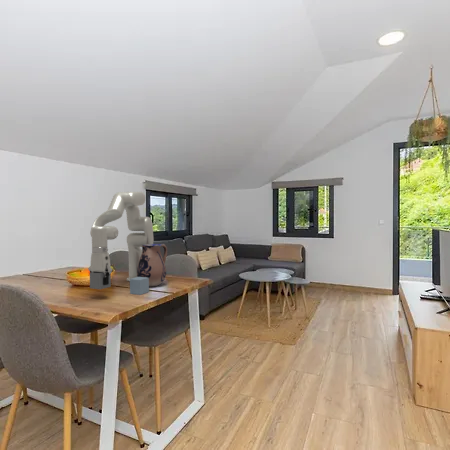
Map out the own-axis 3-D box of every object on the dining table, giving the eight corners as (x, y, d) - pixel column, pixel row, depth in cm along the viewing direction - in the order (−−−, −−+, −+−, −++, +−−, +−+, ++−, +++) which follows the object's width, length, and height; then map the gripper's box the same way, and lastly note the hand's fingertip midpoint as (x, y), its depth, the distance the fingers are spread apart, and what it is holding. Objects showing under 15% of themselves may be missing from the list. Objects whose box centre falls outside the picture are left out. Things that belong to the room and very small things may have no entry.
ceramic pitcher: (130, 286, 186) (130, 245, 186) (154, 280, 205) (153, 242, 204) (153, 289, 178) (152, 246, 177) (175, 282, 197) (174, 243, 196)
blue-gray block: (138, 290, 176) (138, 276, 175) (148, 291, 173) (148, 277, 172) (130, 293, 169) (129, 279, 169) (140, 294, 166) (139, 280, 166)
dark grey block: (100, 285, 166) (100, 270, 166) (110, 286, 163) (110, 271, 163) (89, 288, 160) (89, 272, 159) (100, 289, 156) (99, 273, 156)
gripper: (117, 250, 161) (118, 284, 161) (93, 249, 168) (94, 281, 168) (106, 251, 154) (107, 286, 154) (82, 250, 161) (82, 284, 162)
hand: (100, 283), depth 161 cm, fingers closed on dark grey block, 7 cm apart
